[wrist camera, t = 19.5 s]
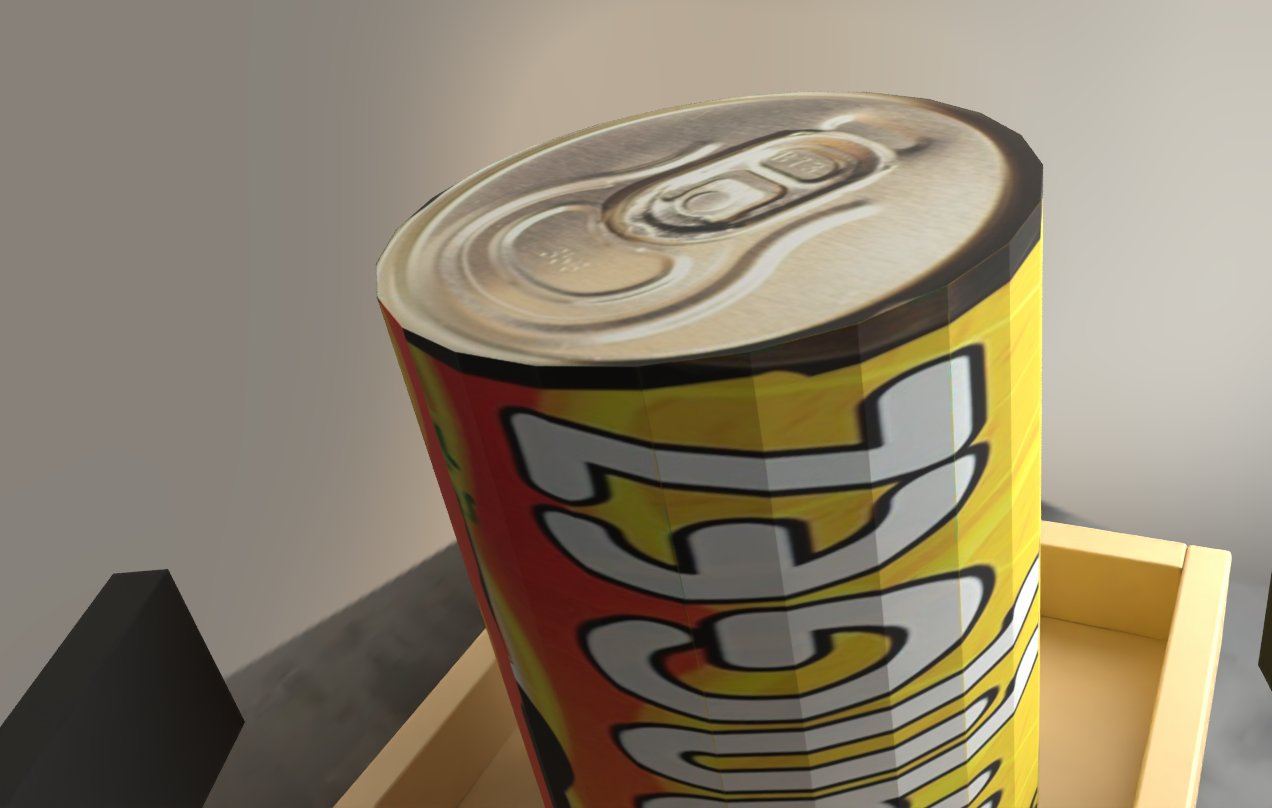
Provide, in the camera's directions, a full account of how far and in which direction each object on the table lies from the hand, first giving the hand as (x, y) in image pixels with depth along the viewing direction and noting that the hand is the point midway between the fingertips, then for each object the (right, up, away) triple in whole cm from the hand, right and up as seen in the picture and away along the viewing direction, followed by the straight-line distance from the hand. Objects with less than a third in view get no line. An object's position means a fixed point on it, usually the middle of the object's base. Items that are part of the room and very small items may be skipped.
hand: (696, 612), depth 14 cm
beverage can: (+2, -5, +8) cm, 10 cm away
